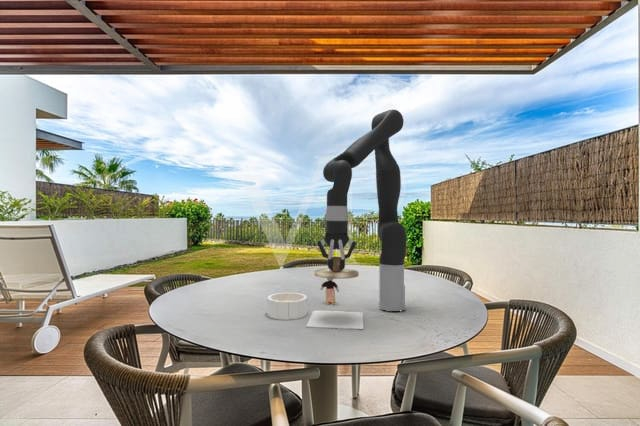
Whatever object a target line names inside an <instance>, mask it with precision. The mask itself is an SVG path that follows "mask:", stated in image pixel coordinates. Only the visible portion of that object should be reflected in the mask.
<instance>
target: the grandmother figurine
mask: <svg viewBox="0 0 640 426" xmlns="http://www.w3.org/2000/svg"><path fill="white" fill-rule="evenodd" d="M326 279H327V280H326V281H323V282H322V284H321V287H320V288H319V289H320V290H321V291H323V289H324V288H325V305H331V304H332V305H333V306H334V305H337V304H338V302H336V293H335V290H336V292H337V293H339V292H340V289H339V286H338V284H337V283H336V282H335V281H334V279H329V278H326Z"/></svg>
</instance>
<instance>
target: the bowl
mask: <svg viewBox="0 0 640 426" xmlns="http://www.w3.org/2000/svg"><path fill="white" fill-rule="evenodd" d="M285 300H290V301H285ZM266 315H267V316H268V318H271V319H275V320H279V321H282V320H283V321H284V320H285V321H289V320H290V321H291V320H298V319H301V318H305V317H306V316H307V315H308V295H306V294H305V293H299V292H278V293H273V294H269V296H267V298H266Z"/></svg>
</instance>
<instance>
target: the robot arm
mask: <svg viewBox="0 0 640 426" xmlns="http://www.w3.org/2000/svg"><path fill="white" fill-rule="evenodd" d="M404 122H405V121H404V116H403V115H402V113H401V112H400V111H399V110H397V109H394V108H393V109H388V110H386V111H383V112H380V113H378V114H375V115H374V117H373V118H372V121H371V130H370V131H368V132H367V133H365V134H364V135H362V136H361V137H359V138H358V139H356V140H355V141H354V142H352V143H351V144H350V145H349V146H348V147H347V148H346V149H345V150H344V151H343V152H342V153H340V154H339V155H336V156H335V157H334V158H332V159H331V160H328V161H329V162H327V163H326V164H325V165H324V167H323V170H322V174H323V178H324V180H326V181H327V182H329V183H332V184H333V186H332V187H331V188H330V189H329V190H327V193H326V210H325V236H324V238H323V239H321V240H318V241H317V243H316V244H317V246H318V248H319V251H320V253H321V256H322V257H323V258H326V259H327V269H328V268H329V269H330V270H332V257H333V253H334V250H339V252H340V257H341V271H343V269H346V260H347V259H348V258H350V257H351V255H352V254H353V251H354V249H355V246H356V245H357V242H356V241H355V240H352V239H350V237H349V233H348V232H349V231H348V229H349V209H348V193H349V189H350V187H351V181H352V176H353V168H357V167H358V166H359V165H360V164H362V163H363V162H364V160H365V159H366V158H367V157H368V156H370V155H371V153H373V152H374V159H375V160H374V161H375V162H374V163H375V180H376V181H375V182H376V195H377V205H378V226H377V236H378V239H379V241H380V242H381V250H380V251H381V252H380V256H379V259H378V260H379V263H378V264H379V265H378V266H379V271H378V272H379V274H378V276H379V278H378V279H379V281H378V282H379V283H378V286H379V287H378V288H379V289H378V291H379V293H378V299H379V302H378V305H379V308H380V309H379V310H381V309H382V310H381V311H383V310H386V311H385V312H387V311H400V310H405V311H406V285H405V259H406V254H407V253H406V252H407V232H406V228H405V226H403V225H402V224H401V223H400V222H399V215H398V205H399V200H400V195H401V189H402V188H401V187H402V182H401V181H402V180H401V179H402V178H401V169H400V166H399V164H398V162H397V161H396V158H395V157H394V156H393V154H392V152H391V148H390V138H392V137H393V136H394V135H396V134H398V133H399V132H401V130H402V129H403V126H404ZM347 243H348V246H349V249H348V252H347V253H346V254H345V247H346V245H347ZM325 244H326V245H327V246H328V247H329V249H328V253H327V252H326V249H325V247H324V246H325ZM400 312H401V311H400Z"/></svg>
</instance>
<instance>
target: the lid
mask: <svg viewBox="0 0 640 426" xmlns="http://www.w3.org/2000/svg"><path fill="white" fill-rule="evenodd" d="M314 276H315V277H318V278H321V279H322V278H323V279H327V278H329V279H333V280H338V279H339V280H341V279H343V280H344V279H346V280H347V279H353V278H358V277H359V271H358V270H355V269H349V268H344V269H343V271H341V256H332V270H330V269H329V268H328V267H327V268H319V269H316V270H314Z"/></svg>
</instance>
